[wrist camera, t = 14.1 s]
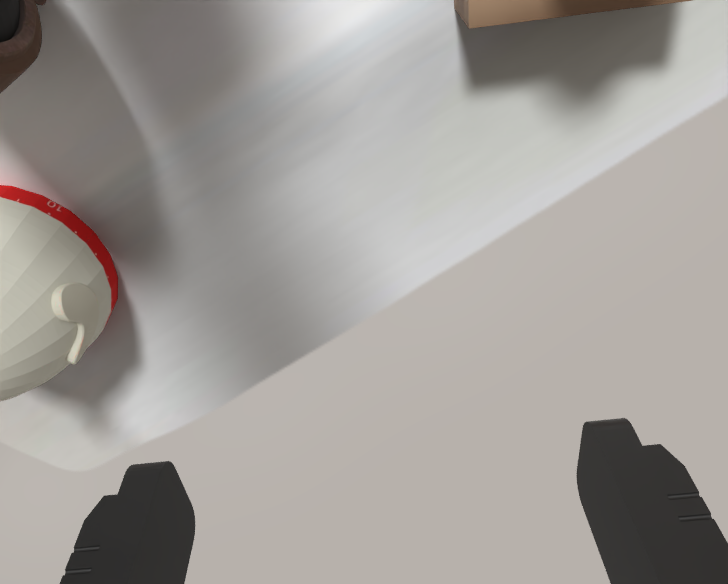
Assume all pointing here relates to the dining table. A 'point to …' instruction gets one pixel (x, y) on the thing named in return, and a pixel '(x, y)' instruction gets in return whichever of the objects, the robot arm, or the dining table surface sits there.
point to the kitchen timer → (48, 289)
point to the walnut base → (538, 9)
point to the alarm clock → (18, 38)
